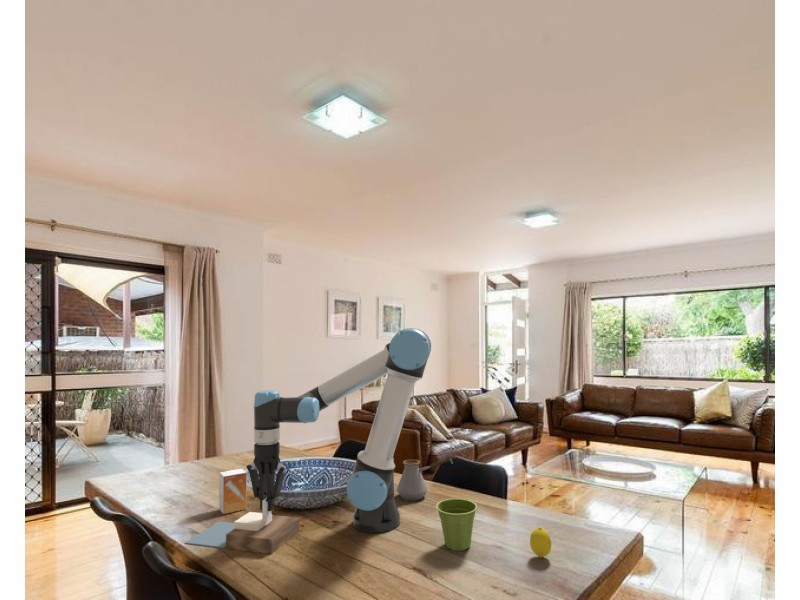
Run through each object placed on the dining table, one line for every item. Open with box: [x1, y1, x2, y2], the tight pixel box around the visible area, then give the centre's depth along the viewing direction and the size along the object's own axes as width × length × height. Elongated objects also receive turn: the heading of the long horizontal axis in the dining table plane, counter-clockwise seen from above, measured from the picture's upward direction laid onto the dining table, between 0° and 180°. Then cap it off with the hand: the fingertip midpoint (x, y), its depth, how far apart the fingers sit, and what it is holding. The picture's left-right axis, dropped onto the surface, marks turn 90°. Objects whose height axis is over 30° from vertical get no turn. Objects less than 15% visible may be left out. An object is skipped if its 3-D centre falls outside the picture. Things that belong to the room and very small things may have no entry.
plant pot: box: [435, 498, 478, 552], centre depth 137 cm, size 12×12×11 cm
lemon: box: [529, 526, 552, 559], centre depth 129 cm, size 6×6×8 cm
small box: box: [218, 468, 247, 515], centre depth 169 cm, size 8×6×13 cm
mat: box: [184, 521, 234, 549], centre depth 148 cm, size 14×16×1 cm
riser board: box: [225, 514, 300, 555], centre depth 144 cm, size 15×16×4 cm
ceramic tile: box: [233, 511, 273, 531], centre depth 145 cm, size 8×8×2 cm
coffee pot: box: [396, 457, 454, 501], centre depth 177 cm, size 21×12×15 cm, turn 73°
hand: (266, 521), depth 144 cm, fingers closed
